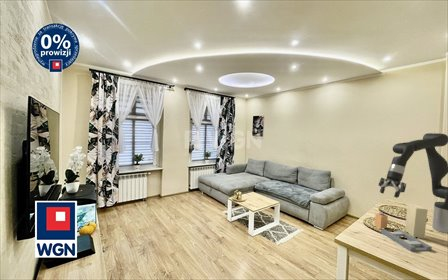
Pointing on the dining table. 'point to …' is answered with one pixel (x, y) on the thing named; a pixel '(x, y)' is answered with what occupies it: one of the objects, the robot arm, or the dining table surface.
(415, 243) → the frame
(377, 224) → the orange block with knob
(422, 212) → the pale yellow tall block
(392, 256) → the dining table surface
